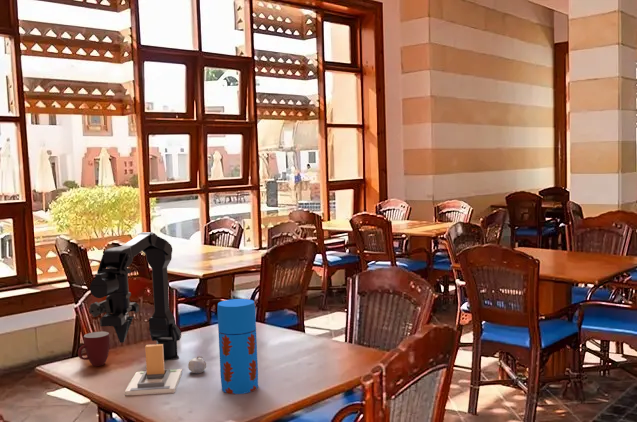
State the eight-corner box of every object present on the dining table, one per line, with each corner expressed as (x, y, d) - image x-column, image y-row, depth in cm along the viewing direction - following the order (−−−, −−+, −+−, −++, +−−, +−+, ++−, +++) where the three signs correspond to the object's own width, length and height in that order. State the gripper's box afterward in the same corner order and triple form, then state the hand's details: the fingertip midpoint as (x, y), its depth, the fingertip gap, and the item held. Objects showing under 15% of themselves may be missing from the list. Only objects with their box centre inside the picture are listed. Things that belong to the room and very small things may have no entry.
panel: (136, 375, 214) (136, 368, 214) (182, 372, 215) (181, 365, 215) (124, 395, 196) (124, 387, 196) (174, 392, 198) (174, 384, 197)
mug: (87, 371, 220) (85, 340, 220) (73, 367, 226) (71, 337, 225) (116, 363, 228) (114, 333, 228) (102, 359, 234) (100, 330, 233)
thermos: (242, 396, 192) (238, 308, 190) (213, 390, 198) (209, 305, 196) (265, 384, 201) (262, 300, 199) (237, 379, 207) (233, 297, 205)
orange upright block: (148, 374, 210) (146, 344, 209) (165, 373, 210) (163, 343, 210) (146, 378, 206) (144, 347, 206) (163, 377, 207) (161, 346, 206)
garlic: (210, 370, 217) (209, 354, 217) (200, 375, 212) (200, 359, 212) (194, 368, 219) (194, 352, 219) (184, 373, 215) (183, 357, 214)
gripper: (102, 285, 214) (105, 334, 215) (80, 298, 195) (84, 352, 197) (138, 284, 214) (141, 333, 215) (119, 297, 195) (122, 351, 197)
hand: (122, 342), depth 206 cm, fingers closed
